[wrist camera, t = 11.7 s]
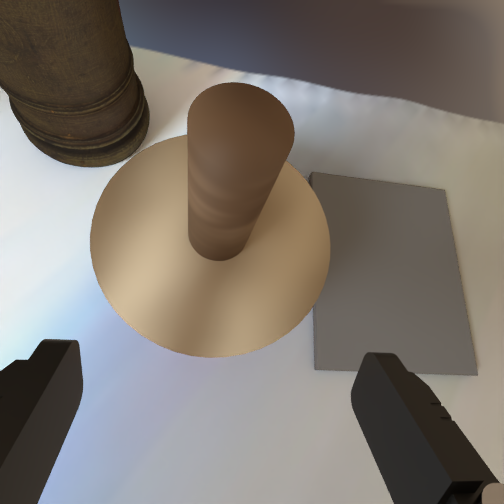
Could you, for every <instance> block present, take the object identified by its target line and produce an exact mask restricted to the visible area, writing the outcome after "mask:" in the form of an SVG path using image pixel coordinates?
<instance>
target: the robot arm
mask: <svg viewBox="0 0 504 504" xmlns="http://www.w3.org/2000/svg"><path fill="white" fill-rule="evenodd" d="M82 392H83V376H82V366H81V357H80V347H79V343H78V341H77V340H60V339H44V340H42V341H41V342H40V344H39V345H38V346H37V348H36V349H35V351H34V352H33V354H32V355H31V357H30V358H29V359H28V360H15V361H14V362H12V363H11V364H10V365H8V366H7V367H5V368H4V369H3V370H1V371H0V504H37V503H38V501H39V499H40V496H41V494H42V492H43V489H44V487H45V485H46V482H47V480H48V478H49V475H50V473H51V471H52V468H53V466H54V464H55V461H56V459H57V457H58V454H59V452H60V450H61V447H62V445H63V443H64V440H65V438H66V436H67V433H68V431H69V429H70V426H71V424H72V422H73V419H74V417H75V415H76V412H77V410H78V408H79V405H80V401H81V397H82ZM351 403H352V408H353V411H354V413H355V415H356V418H357V420H358V422H359V425H360V427H361V429H362V431H363V434H364V436H365V438H366V441H367V443H368V445H369V447H370V450H371V452H372V454H373V457H374V459H375V461H376V463H377V466H378V468H379V470H380V473H381V475H382V477H383V479H384V482H385V484H386V486H387V489H388V491H389V493H390V495H391V498H392V500H393V502H394V504H504V484H501V483H500V482H499V481H498V480H497V479H496V477H495V476H494V475H493V473H492V472H491V471H490V469H489V468H488V466H487V465H486V464H485V462H484V461H483V460H482V458H481V457H480V455H479V454H478V453H477V451H476V450H475V449H474V447H473V446H472V445H471V443H470V442H469V440H468V439H467V438H466V436H465V435H464V434H463V432H462V431H461V429H460V428H459V427H458V425H457V424H456V423H455V421H452V419H451V416H450V414H449V413H448V412H447V410H446V409H445V408H444V406H441V402H440V401H439V399H438V398H437V397H436V395H435V394H434V393H433V391H432V390H431V388H430V387H429V386H428V385H427V384H426V383H425V382H423V381H422V380H421V379H420V378H419V377H418V376H416V375H415V374H414V373H413V372H408V370H407V369H406V368H405V366H404V365H403V363H402V362H401V360H400V359H399V358H398V356H397V355H396V354H394V353H380V352H368V353H366V354H365V356H364V358H363V360H362V363H361V366H360V368H359V371H358V374H357V376H356V379H355V381H354V384H353V387H352V390H351Z"/></svg>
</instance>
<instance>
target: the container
mask: <svg viewBox="0 0 504 504" xmlns="http://www.w3.org/2000/svg"><path fill="white" fill-rule="evenodd" d="M0 87H1V88H2V89H3V90H4V91H5V92H6V93H7V94H8V96H9V101H10V106H11V109H12V111H13V113H14V115H15V117H16V118H17V120H18V121H19V122H20V125H21V127H22V129H23V131H24V133H25V134H26V136H27V137H28V139H29V140H30V141H31V142H32V143H33V144H34V145H35V146H36V147H37V148H38V149H39V150H41V151H42V152H43V153H45V154H46V155H48V156H50V157H51V158H53V159H55V160H58V161H60V162H62V163H65V164H69V165H73V166H80V167H103V166H108V165H112V164H115V163H117V162H120V161H122V160H124V159H125V158H127V157H128V156H130V155H131V154H132V153H133V152H134V151H135V150H136V149H137V148H138V147H139V146H140V144H141V143H142V141H143V140H144V138H145V136H146V133H147V130H148V125H149V108H148V104H147V100H146V98H145V96H144V90H143V86H142V84H141V81H140V79H139V77H138V76H137V74H136V73H135V72H134V61H133V54H132V51H131V48H130V46H129V43H128V41H127V39H126V35H125V31H124V26H123V22H122V17H121V12H120V7H119V1H118V0H0Z"/></svg>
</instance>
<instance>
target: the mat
mask: <svg viewBox="0 0 504 504" xmlns="http://www.w3.org/2000/svg"><path fill="white" fill-rule="evenodd" d="M310 187H311V188H312V190H313V191H314V192H315V194H316V196H317V198H318V200H319V202H320V204H321V206H322V209H323V211H324V214H325V217H326V220H327V225H328V229H329V235H330V262H329V269H328V274H327V277H326V280H325V284H324V286H323V289H322V291H321V293H320V295H319V297H318V299H317V301H316V302H315V304H314V306H313V322H314V361H315V370H335V371H359V368H360V366H361V363H362V360H363V358H364V356H365V354H366V353H368V352H380V353H394V354H396V355H397V356H398V358H399V359H400V360H401V362H402V363H403V365H404V366H405V368H406V369H407V370H408V372H413V373H417V374H445V375H473V376H478V372H477V367H476V361H475V355H474V350H473V344H472V339H471V333H470V328H469V322H468V316H467V311H466V305H465V300H464V294H463V289H462V283H461V277H460V272H459V266H458V261H457V255H456V250H455V244H454V238H453V233H452V227H451V222H450V216H449V211H448V205H447V199H446V194H445V190H441V189H433V188H426V187H419V186H411V185H404V184H397V183H390V182H382V181H375V180H368V179H360V178H353V177H346V176H339V175H331V174H324V173H317V172H312V173H311V175H310Z"/></svg>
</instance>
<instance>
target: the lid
mask: <svg viewBox="0 0 504 504" xmlns="http://www.w3.org/2000/svg"><path fill="white" fill-rule="evenodd" d="M294 135H295V132H294V125H293V121H292V119H291V116H290V114H289V113H288V111H287V109H286V108H285V107H284V105H283V104H282V103H281V102H280V101H279V100H278V99H277V98H276V97H274V96H273V95H272V94H270V93H269V92H267V91H265V90H263V89H261V88H259V87H256V86H253V85H250V84H245V83H235V82H231V83H222V84H218V85H215V86H212V87H210V88H208V89H206V90H205V91H203V92H202V93H201V94H199V95H198V96H197V97H196V99H195V100H194V101H193V103H192V105H191V107H190V109H189V112H188V119H187V135H182V136H178V137H174V138H170V139H167V140H164V141H162V142H159V143H156V144H154V145H152V146H150V147H148V148H146V149H145V150H143V151H141V152H140V153H138V154H137V155H135V156H134V157H133V158H131V159H130V160H129V161H128V162H127V163H126V164H124V165H123V166H122V167H121V168H120V169H119V170H118V171H117V173H116V174H115V175H114V176H113V177H112V178H111V180H110V181H109V183H108V184H107V186H106V187H105V189H104V191H103V192H102V195H101V197H100V199H99V201H98V203H97V206H96V209H95V212H94V216H93V219H92V226H91V233H90V252H91V258H92V264H93V268H94V271H95V274H96V277H97V281H98V283H99V285H100V287H101V289H102V291H103V293H104V295H105V297H106V299H107V300H108V302H109V303H110V304H111V306H112V307H113V309H114V310H115V311H116V313H117V314H118V315H119V316H120V317H121V318H122V319H123V320H124V321H125V322H126V323H127V324H128V325H129V326H130V327H132V328H133V329H134V330H136V331H137V332H138V333H139V334H141V335H142V336H144V337H145V338H147V339H149V340H151V341H152V342H154V343H156V344H157V345H159V346H162V347H164V348H167V349H169V350H172V351H174V352H178V353H182V354H186V355H190V356H198V357H207V358H213V357H229V356H235V355H241V354H245V353H248V352H252V351H255V350H258V349H261V348H263V347H265V346H267V345H269V344H271V343H273V342H275V341H277V340H278V339H280V338H281V337H283V336H284V335H286V334H288V333H289V332H290V331H291V330H292V329H293V328H295V327H296V326H297V325H298V324H299V323H300V322H301V321H302V320H303V319H304V317H305V316H306V315H307V314H308V313H309V312H310V310H311V309H312V307H313V306H314V304H315V302H316V301H317V299H318V297H319V295H320V293H321V291H322V289H323V286H324V284H325V280H326V277H327V274H328V269H329V262H330V235H329V229H328V225H327V220H326V217H325V214H324V211H323V209H322V206H321V204H320V202H319V200H318V198H317V196H316V194H315V192H314V191H313V190H312V188H311V187H310V185H309V184H308V182H307V181H306V180H305V179H304V178H303V176H302V175H301V174H300V173H299V172H298V171H297V170H296V169H295V168H294V167H293V166H292V165H291V164H290V163H288V162H287V161H286V159H287V157H288V155H289V153H290V150H291V148H292V146H293V142H294Z"/></svg>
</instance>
